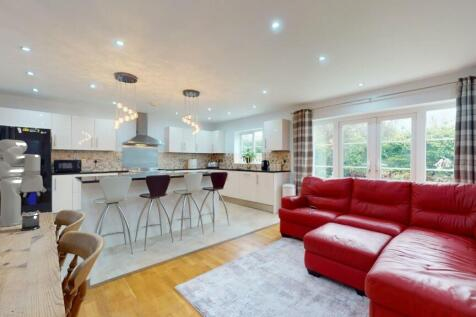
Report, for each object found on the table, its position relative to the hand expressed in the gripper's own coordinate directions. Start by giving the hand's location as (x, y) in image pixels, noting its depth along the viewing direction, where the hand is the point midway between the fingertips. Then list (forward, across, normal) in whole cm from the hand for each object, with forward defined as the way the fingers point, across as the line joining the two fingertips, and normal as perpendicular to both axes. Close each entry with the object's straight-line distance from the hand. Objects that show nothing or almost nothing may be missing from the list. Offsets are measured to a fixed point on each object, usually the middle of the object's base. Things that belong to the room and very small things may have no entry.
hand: (31, 202), depth 141 cm
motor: (+17, 0, 0) cm, 17 cm away
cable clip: (+1, 0, 0) cm, 1 cm away
